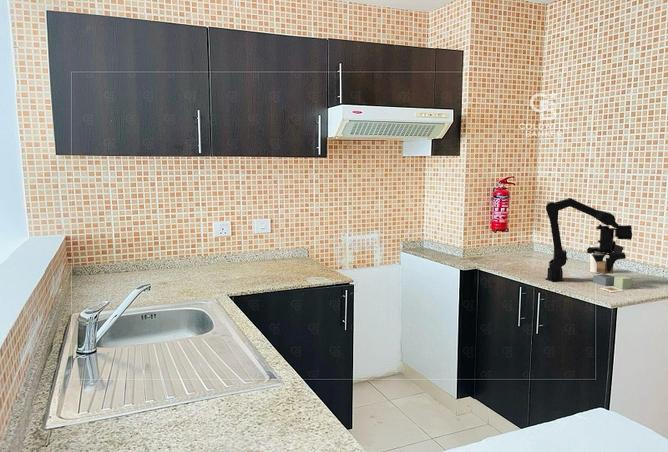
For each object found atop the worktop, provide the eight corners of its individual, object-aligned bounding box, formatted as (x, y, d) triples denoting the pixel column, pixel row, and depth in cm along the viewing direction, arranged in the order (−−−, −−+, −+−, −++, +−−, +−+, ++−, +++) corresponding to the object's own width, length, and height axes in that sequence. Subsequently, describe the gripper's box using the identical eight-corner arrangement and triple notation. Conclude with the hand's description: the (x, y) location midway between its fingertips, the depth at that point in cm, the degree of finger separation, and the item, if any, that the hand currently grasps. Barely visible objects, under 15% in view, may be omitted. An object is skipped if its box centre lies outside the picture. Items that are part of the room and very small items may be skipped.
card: (611, 292, 228) (611, 291, 228) (599, 288, 234) (599, 287, 234) (623, 291, 229) (623, 290, 229) (611, 287, 236) (611, 286, 236)
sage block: (622, 289, 233) (622, 279, 232) (613, 286, 238) (614, 276, 237) (631, 288, 234) (631, 278, 233) (622, 286, 239) (623, 275, 238)
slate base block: (605, 286, 239) (605, 278, 239) (592, 283, 246) (593, 275, 245) (615, 284, 242) (616, 276, 242) (602, 281, 248) (603, 273, 248)
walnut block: (604, 273, 240) (604, 263, 240) (596, 271, 245) (597, 261, 244) (612, 273, 241) (613, 263, 241) (604, 271, 246) (605, 261, 246)
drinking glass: (598, 270, 271) (599, 243, 269) (605, 273, 264) (607, 245, 262) (586, 271, 271) (587, 243, 269) (592, 273, 264) (594, 246, 262)
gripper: (636, 240, 234) (634, 273, 236) (605, 235, 252) (603, 265, 254) (616, 242, 231) (614, 275, 233) (586, 236, 249) (585, 267, 251)
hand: (604, 270), depth 243 cm, fingers closed on walnut block, 5 cm apart
